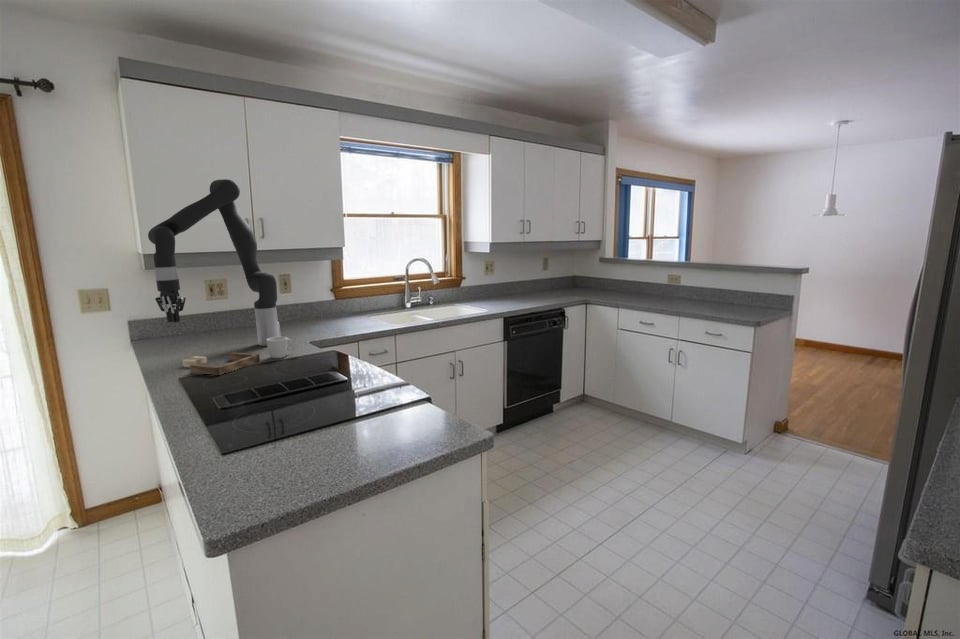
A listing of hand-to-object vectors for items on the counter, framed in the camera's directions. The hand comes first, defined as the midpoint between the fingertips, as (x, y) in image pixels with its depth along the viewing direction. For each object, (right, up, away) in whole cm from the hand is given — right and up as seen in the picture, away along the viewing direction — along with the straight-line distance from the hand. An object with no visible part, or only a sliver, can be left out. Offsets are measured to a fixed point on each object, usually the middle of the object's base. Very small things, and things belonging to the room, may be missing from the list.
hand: (173, 321), depth 192 cm
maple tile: (+9, -17, 0) cm, 19 cm away
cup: (+39, -15, +10) cm, 43 cm away
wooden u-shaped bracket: (+23, -18, -4) cm, 29 cm away
